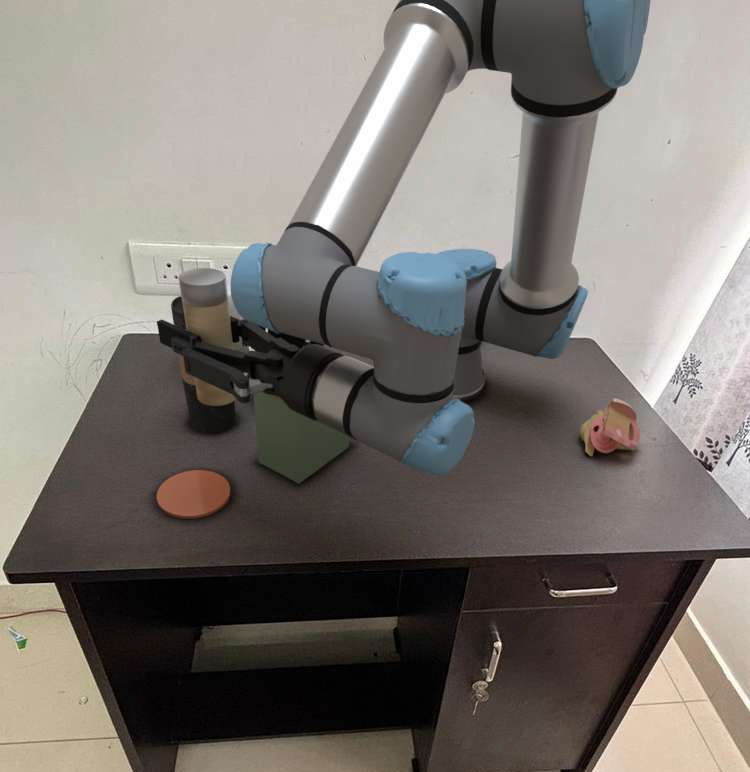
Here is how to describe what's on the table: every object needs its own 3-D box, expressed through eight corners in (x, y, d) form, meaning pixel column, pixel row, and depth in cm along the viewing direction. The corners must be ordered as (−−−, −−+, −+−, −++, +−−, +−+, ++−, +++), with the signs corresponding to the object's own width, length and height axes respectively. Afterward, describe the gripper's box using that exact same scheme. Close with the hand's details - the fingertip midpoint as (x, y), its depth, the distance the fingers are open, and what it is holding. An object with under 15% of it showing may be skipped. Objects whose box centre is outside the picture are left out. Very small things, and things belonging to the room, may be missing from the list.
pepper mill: (234, 404, 82) (288, 358, 71) (205, 420, 79) (257, 374, 68) (170, 309, 80) (216, 247, 69) (137, 322, 77) (180, 259, 66)
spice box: (349, 446, 99) (352, 368, 90) (298, 484, 92) (296, 402, 83) (310, 428, 103) (309, 350, 94) (258, 462, 95) (252, 381, 86)
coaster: (209, 464, 94) (209, 461, 94) (243, 500, 88) (243, 497, 88) (145, 489, 89) (144, 486, 89) (177, 529, 83) (176, 526, 83)
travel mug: (226, 437, 99) (212, 317, 86) (181, 430, 100) (160, 310, 87) (244, 412, 105) (233, 296, 92) (200, 405, 106) (184, 289, 93)
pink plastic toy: (560, 448, 103) (580, 393, 104) (603, 470, 107) (622, 417, 108) (600, 450, 95) (622, 391, 95) (645, 474, 99) (666, 417, 99)
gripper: (275, 457, 63) (123, 379, 73) (379, 386, 74) (237, 327, 84) (271, 392, 58) (109, 317, 68) (383, 327, 70) (231, 271, 79)
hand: (180, 323), depth 76 cm, fingers closed on pepper mill, 5 cm apart
